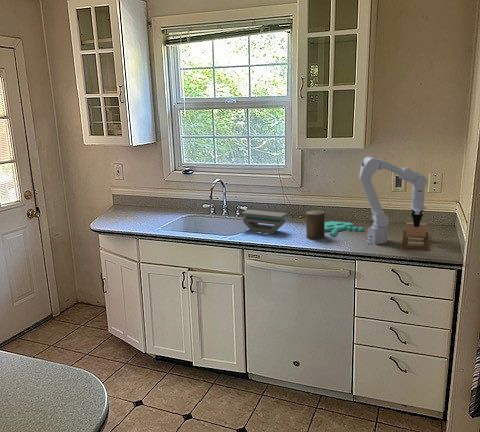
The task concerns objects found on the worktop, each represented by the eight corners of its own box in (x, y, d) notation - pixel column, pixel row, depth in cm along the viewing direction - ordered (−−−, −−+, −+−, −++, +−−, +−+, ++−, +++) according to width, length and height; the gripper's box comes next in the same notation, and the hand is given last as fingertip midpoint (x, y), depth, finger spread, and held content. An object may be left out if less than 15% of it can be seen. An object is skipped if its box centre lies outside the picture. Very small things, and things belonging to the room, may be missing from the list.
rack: (430, 252, 209) (430, 247, 208) (400, 250, 214) (400, 245, 213) (428, 236, 232) (429, 231, 231) (402, 234, 237) (402, 230, 236)
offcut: (423, 244, 218) (423, 239, 217) (407, 243, 220) (408, 238, 220) (423, 243, 219) (423, 238, 218) (407, 242, 222) (408, 237, 221)
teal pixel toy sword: (363, 231, 246) (342, 223, 264) (363, 228, 245) (342, 219, 263) (331, 237, 239) (313, 228, 257) (332, 233, 239) (312, 224, 257)
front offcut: (423, 249, 212) (423, 243, 211) (407, 248, 214) (407, 242, 214) (423, 248, 213) (423, 242, 213) (407, 246, 216) (407, 241, 215)
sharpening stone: (287, 231, 251) (287, 213, 248) (281, 235, 245) (281, 216, 242) (248, 227, 263) (247, 209, 261) (242, 230, 257) (241, 212, 254)
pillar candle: (325, 239, 235) (325, 211, 231) (306, 239, 236) (306, 212, 232) (323, 234, 244) (323, 207, 241) (305, 234, 245) (305, 207, 241)
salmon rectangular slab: (425, 240, 223) (426, 224, 221) (405, 239, 226) (406, 223, 224) (425, 239, 225) (426, 223, 222) (406, 238, 228) (406, 222, 226)
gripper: (426, 202, 212) (425, 229, 216) (426, 195, 225) (424, 221, 229) (411, 201, 214) (409, 228, 218) (411, 194, 227) (410, 220, 231)
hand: (416, 224), depth 223 cm, fingers open, 7 cm apart
